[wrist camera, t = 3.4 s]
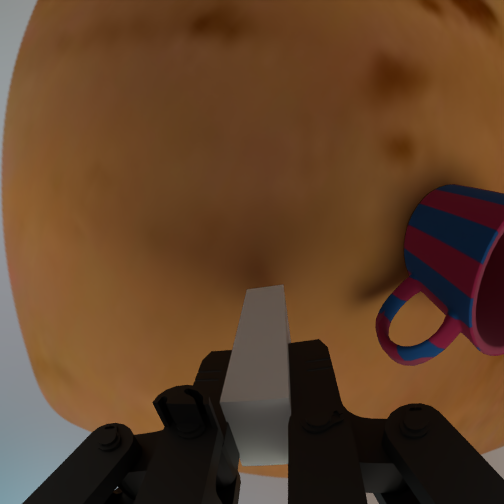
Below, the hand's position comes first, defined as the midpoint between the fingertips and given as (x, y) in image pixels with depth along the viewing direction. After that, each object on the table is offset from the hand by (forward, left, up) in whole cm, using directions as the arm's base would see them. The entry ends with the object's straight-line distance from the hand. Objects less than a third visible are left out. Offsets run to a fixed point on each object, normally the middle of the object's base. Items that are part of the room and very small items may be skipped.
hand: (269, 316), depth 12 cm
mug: (0, +9, -4) cm, 10 cm away
